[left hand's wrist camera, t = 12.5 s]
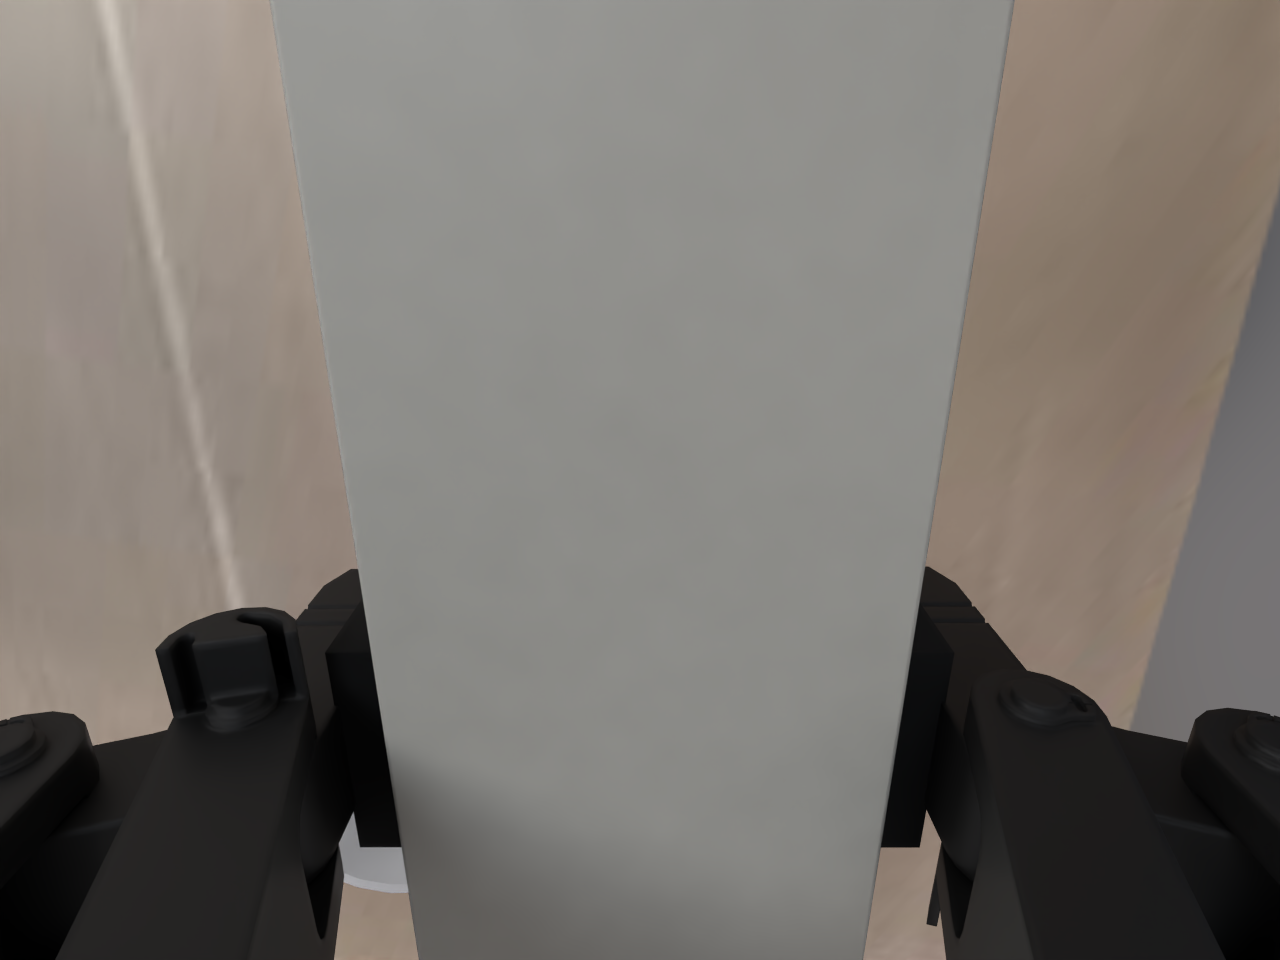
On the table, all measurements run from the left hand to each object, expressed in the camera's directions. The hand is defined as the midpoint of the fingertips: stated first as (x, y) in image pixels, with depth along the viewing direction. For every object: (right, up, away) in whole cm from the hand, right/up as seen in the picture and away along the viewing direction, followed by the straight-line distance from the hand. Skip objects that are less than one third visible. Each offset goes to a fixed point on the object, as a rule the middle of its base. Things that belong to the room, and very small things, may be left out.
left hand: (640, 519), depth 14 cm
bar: (0, +9, -3) cm, 10 cm away
